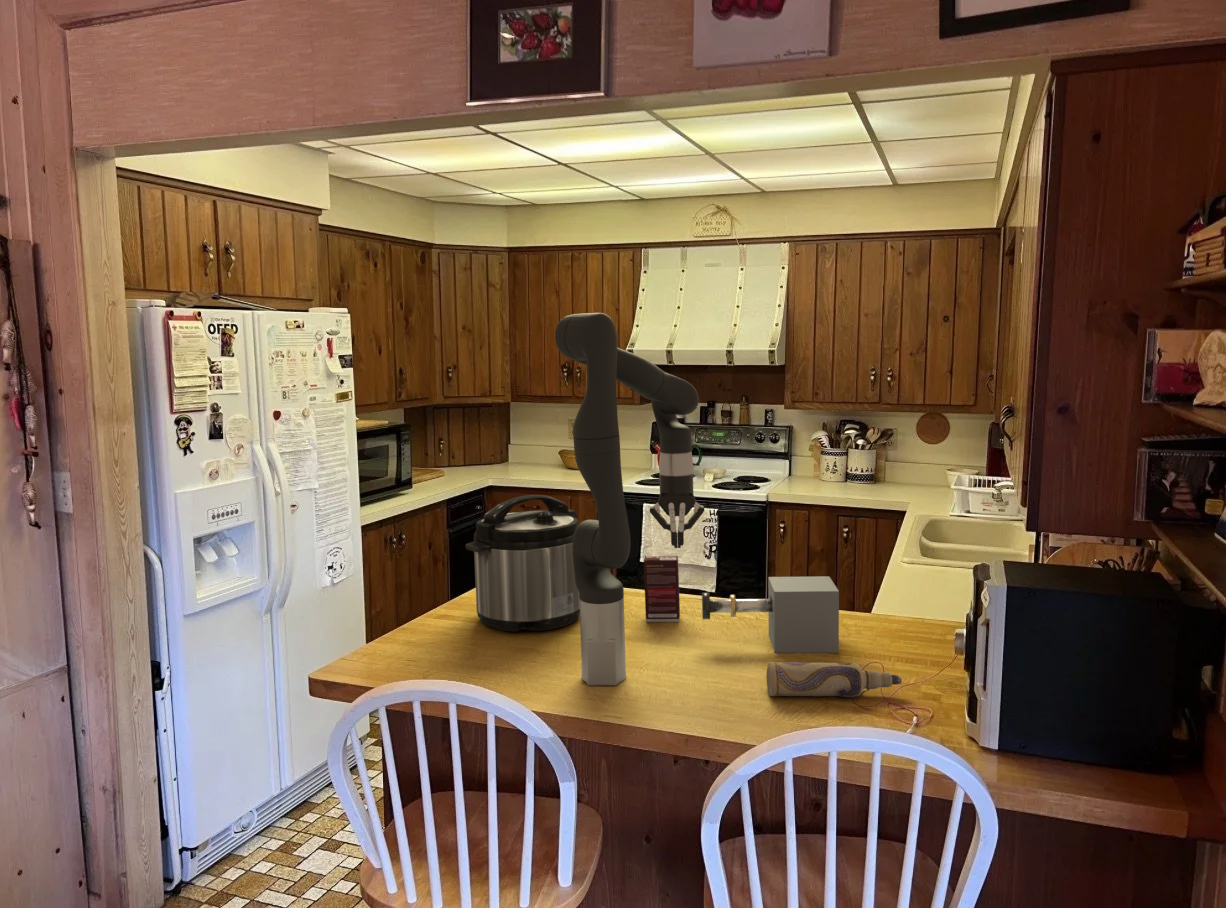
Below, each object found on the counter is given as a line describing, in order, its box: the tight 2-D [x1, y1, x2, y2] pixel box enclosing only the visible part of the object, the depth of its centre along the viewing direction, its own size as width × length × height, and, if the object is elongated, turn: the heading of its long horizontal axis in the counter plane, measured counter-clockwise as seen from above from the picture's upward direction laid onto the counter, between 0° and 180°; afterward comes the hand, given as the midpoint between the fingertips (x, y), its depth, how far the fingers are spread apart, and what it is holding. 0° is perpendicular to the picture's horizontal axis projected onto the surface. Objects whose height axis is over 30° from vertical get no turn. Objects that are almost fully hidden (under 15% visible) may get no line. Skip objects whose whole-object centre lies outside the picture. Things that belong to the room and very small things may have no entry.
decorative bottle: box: [765, 661, 902, 699], centre depth 174 cm, size 26×8×7 cm, turn 86°
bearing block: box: [767, 575, 840, 654], centre depth 202 cm, size 12×14×14 cm
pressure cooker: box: [465, 494, 580, 632], centre depth 225 cm, size 30×28×32 cm
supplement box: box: [643, 555, 681, 623], centre depth 222 cm, size 9×5×16 cm, turn 84°
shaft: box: [701, 592, 772, 620], centre depth 203 cm, size 6×21×6 cm, turn 86°
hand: (677, 547), depth 202 cm, fingers closed
